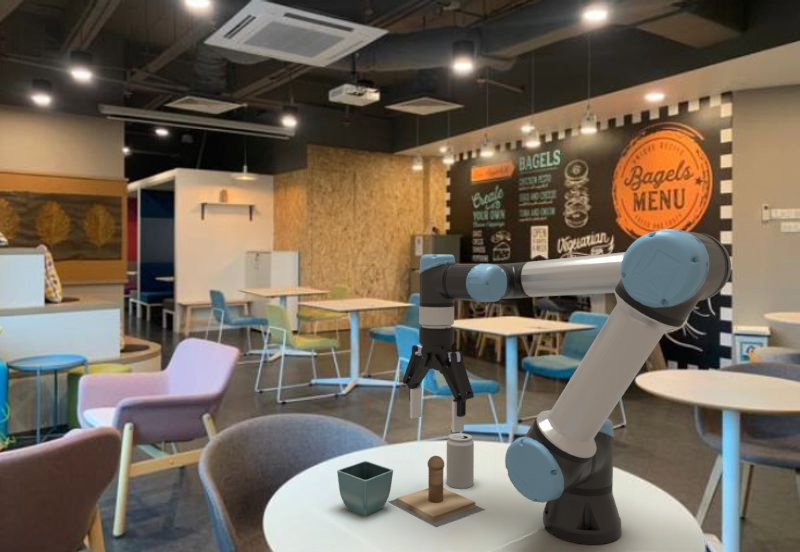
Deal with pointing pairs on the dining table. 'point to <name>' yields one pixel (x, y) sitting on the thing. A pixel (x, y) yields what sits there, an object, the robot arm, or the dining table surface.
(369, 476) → the flower pot
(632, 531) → the dining table surface
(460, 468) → the beverage can
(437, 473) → the lid
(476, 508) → the mat
